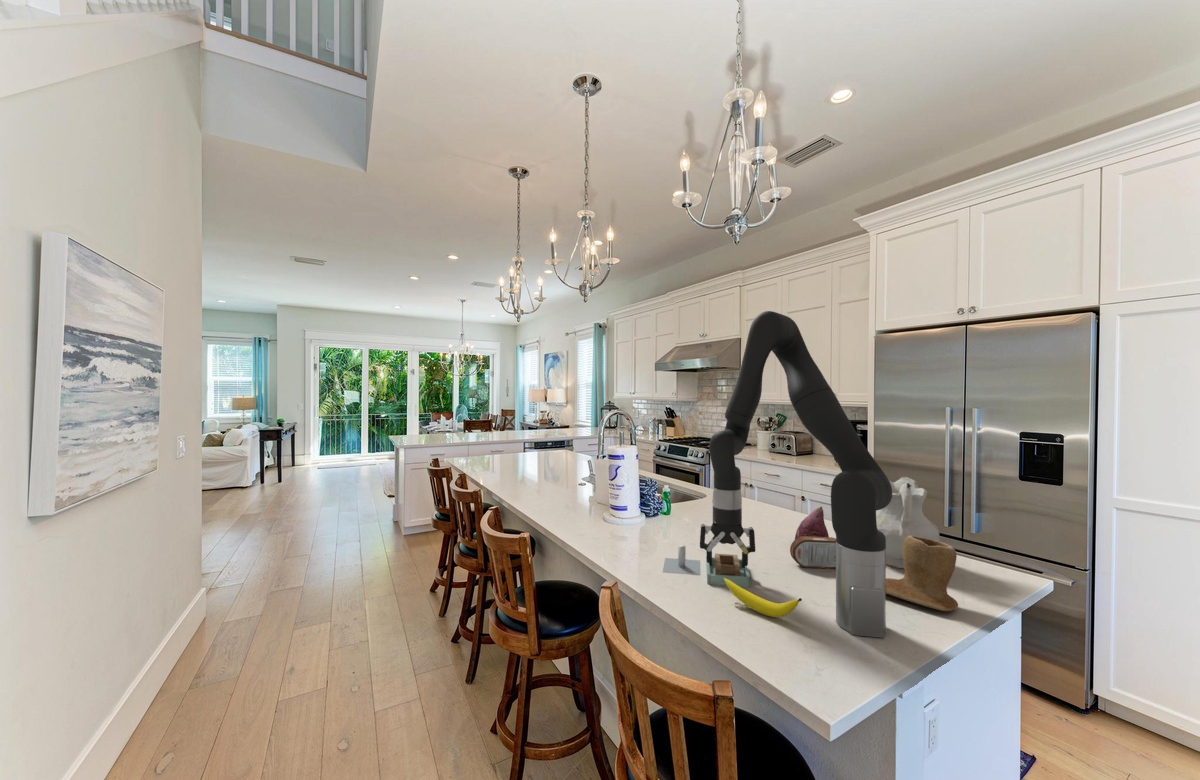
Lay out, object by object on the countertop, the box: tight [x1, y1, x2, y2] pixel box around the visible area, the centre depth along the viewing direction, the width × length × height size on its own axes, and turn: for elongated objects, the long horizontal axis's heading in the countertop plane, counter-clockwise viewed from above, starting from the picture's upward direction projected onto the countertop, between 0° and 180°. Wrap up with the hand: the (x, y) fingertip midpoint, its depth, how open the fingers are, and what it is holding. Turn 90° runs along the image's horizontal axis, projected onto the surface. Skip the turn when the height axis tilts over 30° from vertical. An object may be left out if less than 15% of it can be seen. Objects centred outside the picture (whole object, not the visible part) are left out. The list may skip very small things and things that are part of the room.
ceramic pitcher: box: [876, 475, 940, 569], centre depth 135 cm, size 22×20×25 cm
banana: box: [724, 578, 802, 618], centre depth 105 cm, size 3×19×6 cm, turn 41°
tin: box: [789, 536, 836, 570], centre depth 132 cm, size 15×3×8 cm, turn 84°
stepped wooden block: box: [714, 553, 740, 576], centre depth 125 cm, size 9×6×4 cm, turn 168°
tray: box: [705, 556, 752, 588], centre depth 125 cm, size 14×11×3 cm
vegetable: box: [794, 506, 830, 540], centre depth 149 cm, size 10×10×15 cm
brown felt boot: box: [886, 535, 959, 612], centre depth 111 cm, size 15×12×15 cm
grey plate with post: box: [662, 544, 701, 576], centre depth 131 cm, size 11×10×6 cm
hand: (726, 565), depth 125 cm, fingers open, 8 cm apart
